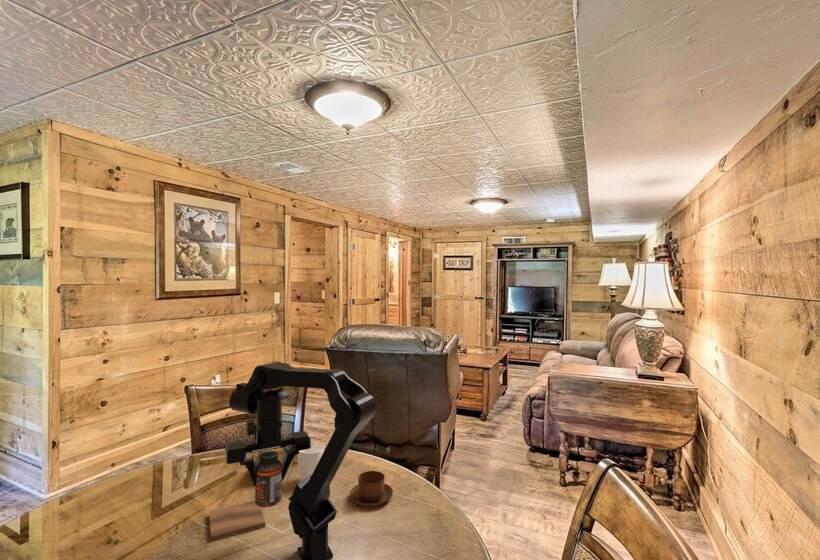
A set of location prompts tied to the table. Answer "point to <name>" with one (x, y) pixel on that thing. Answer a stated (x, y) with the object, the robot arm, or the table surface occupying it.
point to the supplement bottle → (268, 480)
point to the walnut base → (235, 520)
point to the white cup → (309, 460)
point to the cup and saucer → (371, 489)
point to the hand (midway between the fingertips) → (268, 482)
